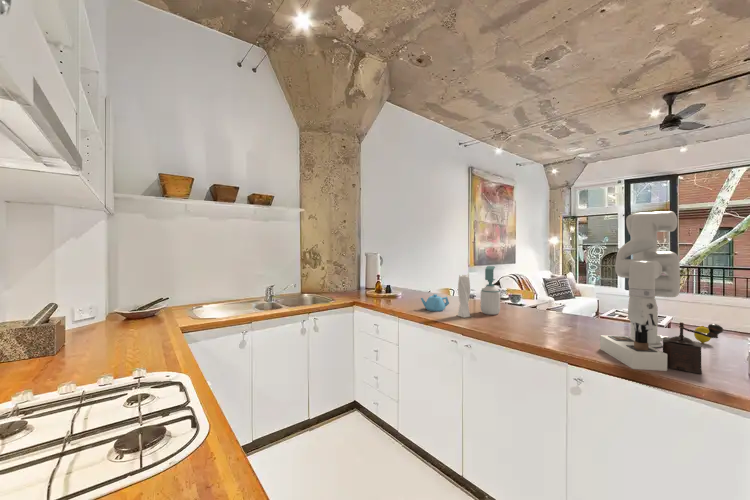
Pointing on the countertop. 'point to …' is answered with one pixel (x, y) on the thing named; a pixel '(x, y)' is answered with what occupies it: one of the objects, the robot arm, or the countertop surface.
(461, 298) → the twisted white vase
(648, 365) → the peg block
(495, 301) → the soap bottle
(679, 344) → the coffee grinder
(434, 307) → the teapot
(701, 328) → the lemon
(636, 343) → the peg
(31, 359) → the countertop surface
